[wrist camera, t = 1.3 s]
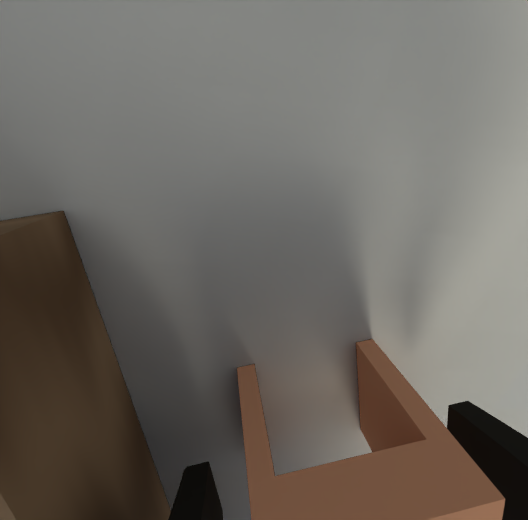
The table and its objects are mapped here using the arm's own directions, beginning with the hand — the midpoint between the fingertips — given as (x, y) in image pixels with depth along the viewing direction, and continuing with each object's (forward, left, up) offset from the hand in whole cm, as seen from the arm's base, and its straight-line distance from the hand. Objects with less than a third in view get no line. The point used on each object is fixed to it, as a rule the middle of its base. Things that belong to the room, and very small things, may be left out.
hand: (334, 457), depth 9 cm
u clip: (0, 0, -2) cm, 2 cm away
